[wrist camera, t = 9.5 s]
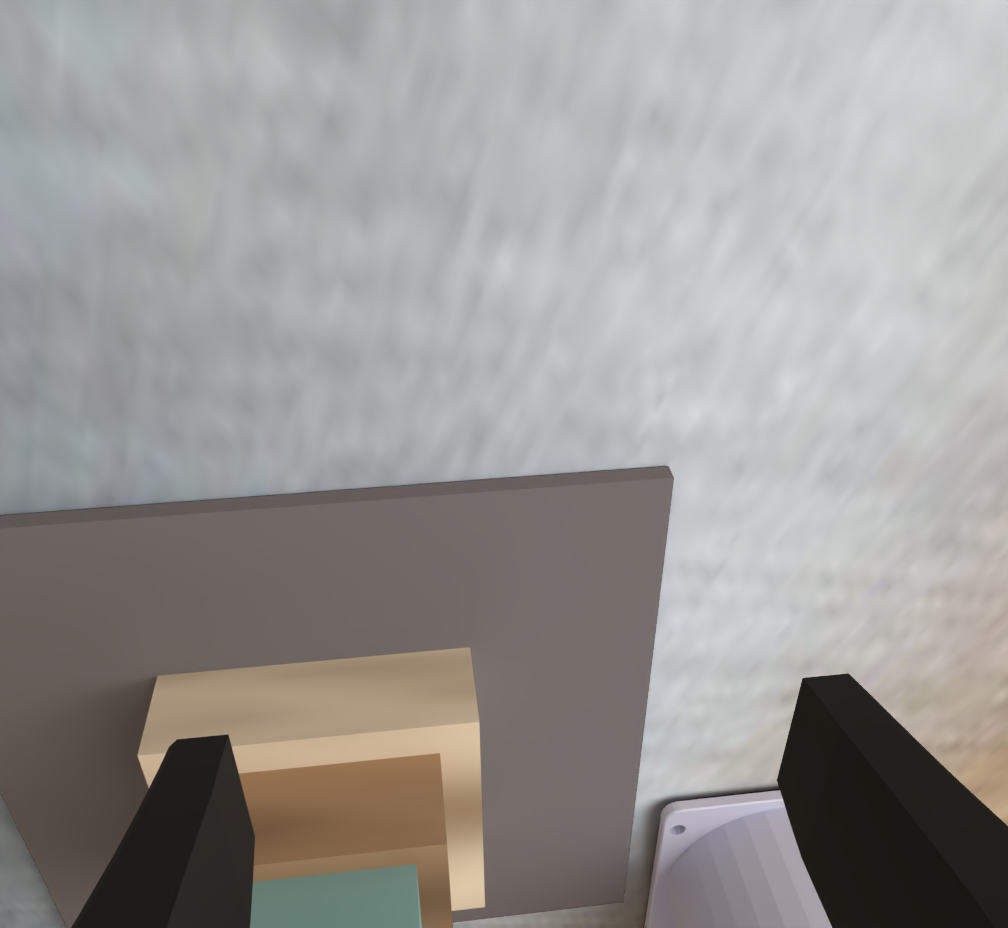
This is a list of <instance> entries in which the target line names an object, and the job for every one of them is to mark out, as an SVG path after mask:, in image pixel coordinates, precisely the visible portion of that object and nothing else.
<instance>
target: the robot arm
mask: <svg viewBox="0 0 1008 928" xmlns="http://www.w3.org/2000/svg"><path fill="white" fill-rule="evenodd" d="M777 782H778V785H779V788H780V790H776V791H767V792H758V793H749V794H740V795H731V796H722V797H712V798H703V799H694V800H685V801H677V802H672V803H670V804H668V805H667V806H666V807H664V809H663V810H662V812H661V818H660V825H659V832H658V838H657V845H656V852H655V859H654V866H653V873H652V880H651V886H650V893H649V900H648V907H647V914H646V921H645V927H644V928H1008V826H1007V825H1006V824H1005V823H1004V822H1003V821H1002V820H1001V819H1000V818H998V817H997V816H996V815H995V814H994V813H993V812H992V811H991V810H990V809H989V808H988V807H987V806H985V805H984V804H983V803H982V802H981V801H980V800H979V799H978V798H977V797H976V796H975V795H973V794H972V793H971V792H970V791H969V790H968V789H967V788H966V787H965V786H964V785H963V784H962V783H960V782H959V781H958V780H957V779H956V778H955V777H954V776H953V775H952V774H951V773H950V772H949V771H948V770H947V769H946V768H945V767H944V766H943V765H942V764H940V763H939V762H938V761H937V760H936V759H935V758H934V757H933V756H932V755H931V754H930V753H929V752H928V751H927V750H926V749H925V748H924V747H923V746H922V745H921V744H920V743H919V742H918V741H917V740H916V739H915V738H914V737H913V736H912V735H911V734H910V733H909V732H908V731H907V730H906V729H905V728H904V727H903V726H902V725H901V724H899V723H898V722H897V721H896V720H895V719H894V718H893V717H892V716H891V715H890V714H889V713H888V712H887V711H886V710H885V709H884V708H883V707H882V706H881V705H880V704H879V703H878V702H877V701H876V700H875V699H874V698H873V697H872V696H871V695H870V694H869V693H868V692H867V691H866V690H865V689H864V688H863V687H862V686H861V685H860V684H859V683H858V682H857V681H856V680H855V679H854V678H853V677H851V676H850V675H849V674H840V675H830V676H819V677H809V678H803V679H802V683H801V687H800V691H799V695H798V699H797V703H796V707H795V711H794V715H793V719H792V723H791V727H790V731H789V735H788V739H787V743H786V747H785V751H784V755H783V759H782V763H781V767H780V770H779V774H778V778H777ZM254 850H255V834H254V830H253V827H252V823H251V819H250V815H249V811H248V807H247V804H246V800H245V796H244V792H243V788H242V784H241V781H240V777H239V773H238V769H237V765H236V761H235V757H234V754H233V750H232V746H231V742H230V738H229V734H227V735H217V736H206V737H196V738H186V739H177V740H176V741H175V742H174V743H173V744H171V745H170V746H169V748H168V750H167V752H166V754H165V757H164V759H163V761H162V763H161V765H160V767H159V769H158V771H157V773H156V775H155V777H154V779H153V781H152V783H151V785H150V787H149V789H148V791H147V793H146V795H145V797H144V799H143V801H142V803H141V805H140V807H139V809H138V811H137V813H136V815H135V817H134V819H133V820H132V822H131V824H130V826H129V828H128V830H127V831H126V833H125V835H124V837H123V839H122V841H121V843H120V844H119V846H118V848H117V850H116V852H115V853H114V855H113V857H112V859H111V860H110V862H109V864H108V866H107V867H106V869H105V871H104V873H103V874H102V876H101V878H100V879H99V881H98V883H97V885H96V886H95V888H94V890H93V891H92V893H91V895H90V897H89V898H88V900H87V902H86V904H85V905H84V907H83V909H82V910H81V912H80V914H79V916H78V917H77V919H76V920H75V922H74V924H73V925H72V927H71V928H250V921H251V905H252V889H253V871H254Z"/></svg>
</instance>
